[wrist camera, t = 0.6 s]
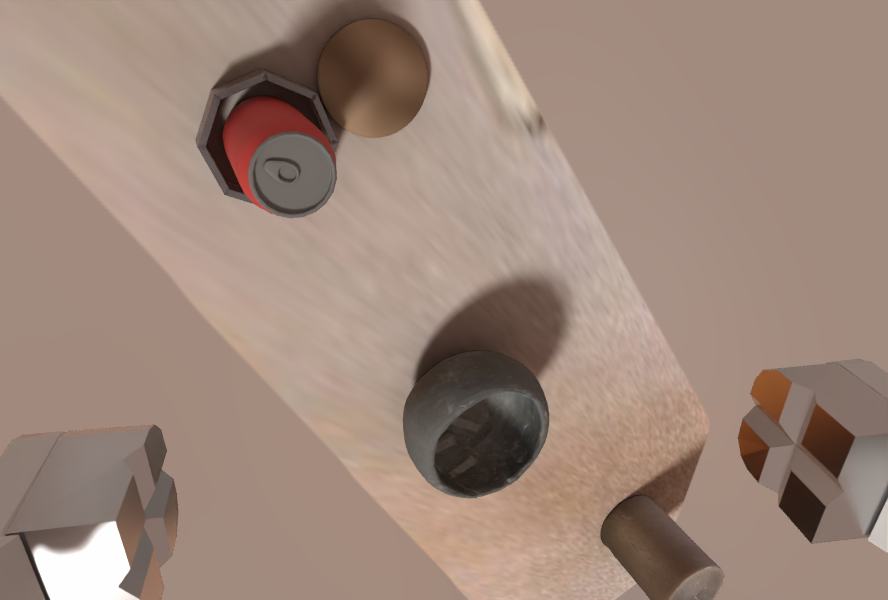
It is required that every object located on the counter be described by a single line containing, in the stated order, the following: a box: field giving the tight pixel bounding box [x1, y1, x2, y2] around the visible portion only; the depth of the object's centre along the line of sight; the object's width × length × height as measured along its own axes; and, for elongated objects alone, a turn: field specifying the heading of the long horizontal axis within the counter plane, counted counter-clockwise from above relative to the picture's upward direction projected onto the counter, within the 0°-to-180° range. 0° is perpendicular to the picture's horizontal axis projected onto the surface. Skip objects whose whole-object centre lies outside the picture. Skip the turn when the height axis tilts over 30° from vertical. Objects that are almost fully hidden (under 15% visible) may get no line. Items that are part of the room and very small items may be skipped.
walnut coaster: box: [317, 19, 428, 138], centre depth 50 cm, size 9×9×1 cm
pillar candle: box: [601, 495, 724, 600], centre depth 85 cm, size 10×10×15 cm
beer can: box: [223, 96, 337, 218], centre depth 45 cm, size 7×7×12 cm
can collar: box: [196, 68, 338, 204], centre depth 48 cm, size 10×10×2 cm
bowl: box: [403, 351, 549, 498], centre depth 64 cm, size 15×15×10 cm
